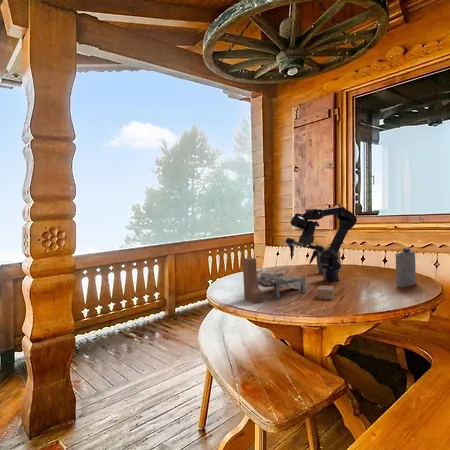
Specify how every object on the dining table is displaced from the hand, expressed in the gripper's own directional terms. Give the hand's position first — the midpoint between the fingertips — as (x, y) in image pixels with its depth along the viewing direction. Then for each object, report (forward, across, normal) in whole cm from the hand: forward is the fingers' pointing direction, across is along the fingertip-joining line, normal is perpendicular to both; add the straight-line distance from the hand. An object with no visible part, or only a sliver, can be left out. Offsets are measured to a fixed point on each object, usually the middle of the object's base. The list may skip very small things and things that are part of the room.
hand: (300, 261), depth 156 cm
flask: (-3, +49, +10) cm, 50 cm away
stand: (+13, +16, -15) cm, 26 cm away
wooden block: (+24, -11, -25) cm, 36 cm away
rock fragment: (+14, -19, +15) cm, 28 cm away
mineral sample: (-2, +13, +38) cm, 41 cm away
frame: (+17, -4, -11) cm, 21 cm away
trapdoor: (+14, -6, -13) cm, 20 cm away
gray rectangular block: (+11, -2, -8) cm, 14 cm away
